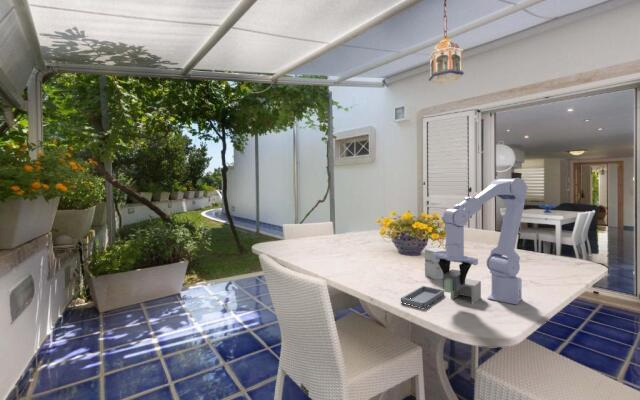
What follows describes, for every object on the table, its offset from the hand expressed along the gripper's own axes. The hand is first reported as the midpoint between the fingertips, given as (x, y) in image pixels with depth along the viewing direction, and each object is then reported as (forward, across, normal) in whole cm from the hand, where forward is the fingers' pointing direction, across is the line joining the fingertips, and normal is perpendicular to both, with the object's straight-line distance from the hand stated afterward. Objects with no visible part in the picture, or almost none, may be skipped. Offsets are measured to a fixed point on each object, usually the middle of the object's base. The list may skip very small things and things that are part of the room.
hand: (454, 282), depth 115 cm
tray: (+8, -11, 0) cm, 14 cm away
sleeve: (+8, 0, +10) cm, 13 cm away
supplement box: (+9, -19, +30) cm, 37 cm away
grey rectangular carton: (+2, 0, -2) cm, 2 cm away
